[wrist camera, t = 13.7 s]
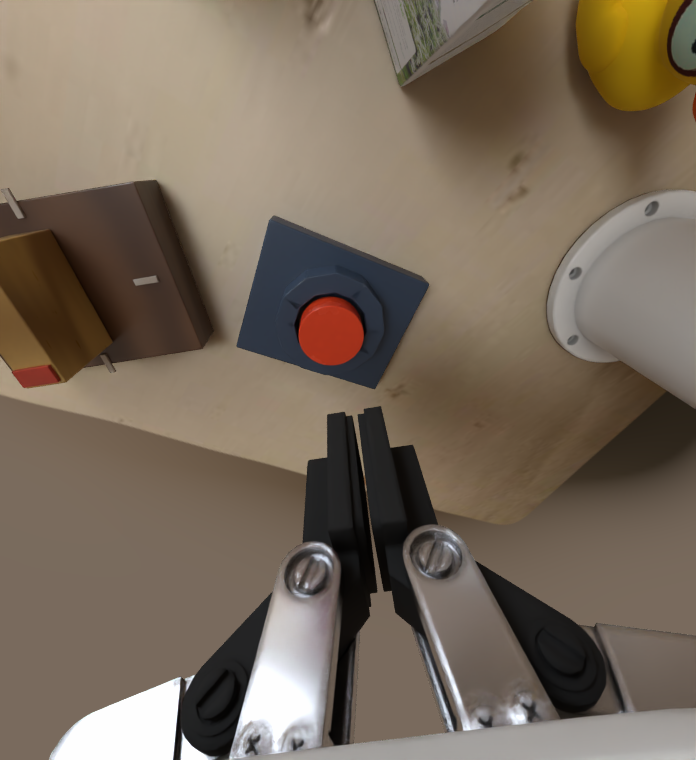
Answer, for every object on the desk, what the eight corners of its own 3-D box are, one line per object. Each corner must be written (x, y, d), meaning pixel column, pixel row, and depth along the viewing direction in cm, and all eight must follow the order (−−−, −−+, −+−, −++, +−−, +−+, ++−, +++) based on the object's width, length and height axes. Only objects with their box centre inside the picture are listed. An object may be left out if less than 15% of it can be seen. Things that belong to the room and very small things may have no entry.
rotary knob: (11, 235, 19) (-83, 256, 15) (50, 228, 19) (-33, 247, 14) (81, 347, 23) (23, 391, 18) (113, 342, 23) (63, 385, 18)
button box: (422, 276, 25) (438, 294, 21) (372, 376, 29) (378, 404, 26) (273, 214, 22) (264, 223, 19) (241, 335, 26) (229, 360, 23)
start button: (370, 308, 22) (374, 319, 21) (347, 360, 24) (349, 373, 22) (311, 286, 21) (310, 296, 20) (292, 342, 23) (290, 354, 21)
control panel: (152, 167, 20) (126, 168, 18) (217, 338, 26) (205, 358, 24) (-61, 203, 21) (-119, 209, 18) (51, 364, 26) (21, 387, 24)
